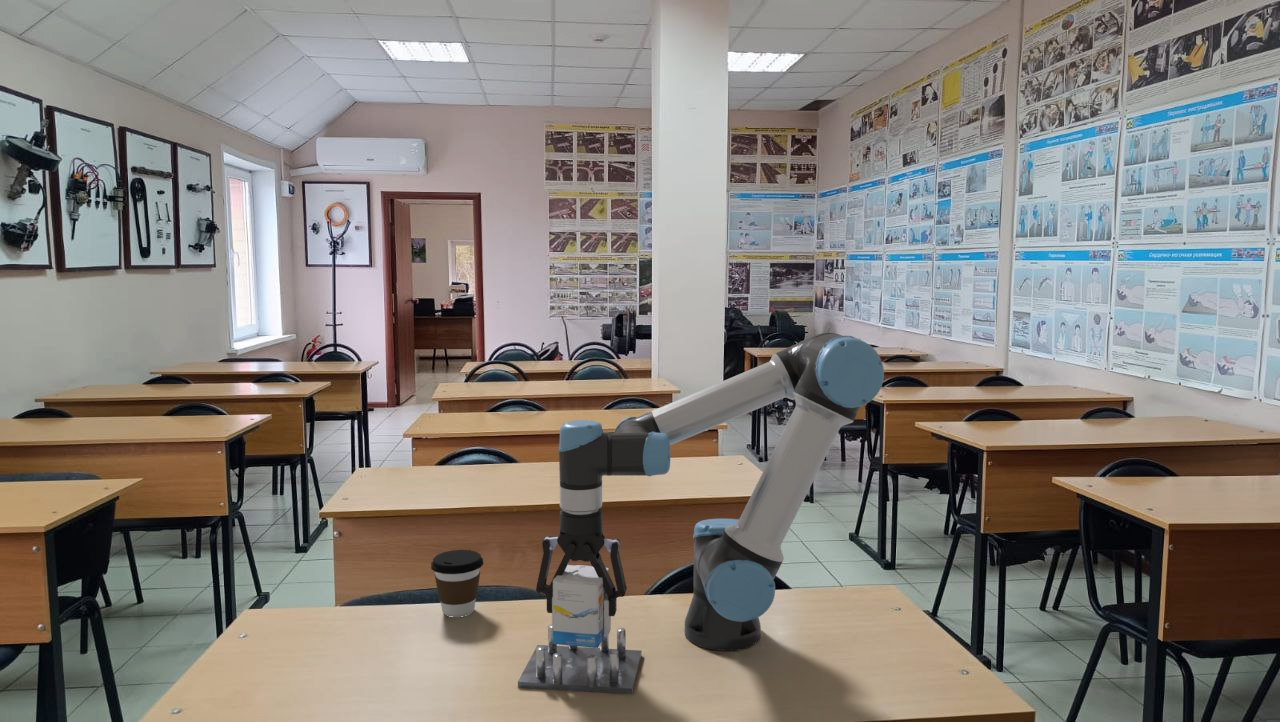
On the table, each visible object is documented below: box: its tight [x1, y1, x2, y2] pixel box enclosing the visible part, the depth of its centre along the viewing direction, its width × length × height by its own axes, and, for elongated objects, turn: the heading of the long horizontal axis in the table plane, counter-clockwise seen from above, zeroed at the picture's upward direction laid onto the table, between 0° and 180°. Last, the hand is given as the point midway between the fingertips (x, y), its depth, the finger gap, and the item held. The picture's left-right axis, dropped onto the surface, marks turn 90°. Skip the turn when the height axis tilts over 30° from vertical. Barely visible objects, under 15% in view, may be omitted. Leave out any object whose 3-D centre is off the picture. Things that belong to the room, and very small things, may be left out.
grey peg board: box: [517, 624, 642, 695], centre depth 141 cm, size 20×15×6 cm
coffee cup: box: [430, 549, 484, 617], centre depth 166 cm, size 11×11×12 cm
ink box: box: [552, 564, 610, 648], centre depth 140 cm, size 9×8×12 cm
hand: (581, 631), depth 141 cm, fingers closed on ink box, 9 cm apart
